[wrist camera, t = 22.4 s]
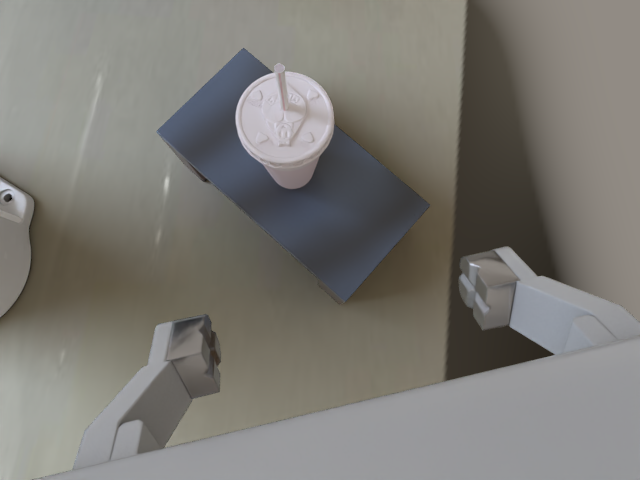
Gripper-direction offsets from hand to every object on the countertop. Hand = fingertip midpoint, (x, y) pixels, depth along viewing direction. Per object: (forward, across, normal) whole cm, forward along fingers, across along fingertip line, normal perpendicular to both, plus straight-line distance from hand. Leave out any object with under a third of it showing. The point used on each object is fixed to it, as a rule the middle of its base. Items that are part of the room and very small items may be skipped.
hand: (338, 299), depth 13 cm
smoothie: (+24, 0, +6) cm, 25 cm away
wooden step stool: (+29, 0, +12) cm, 32 cm away
